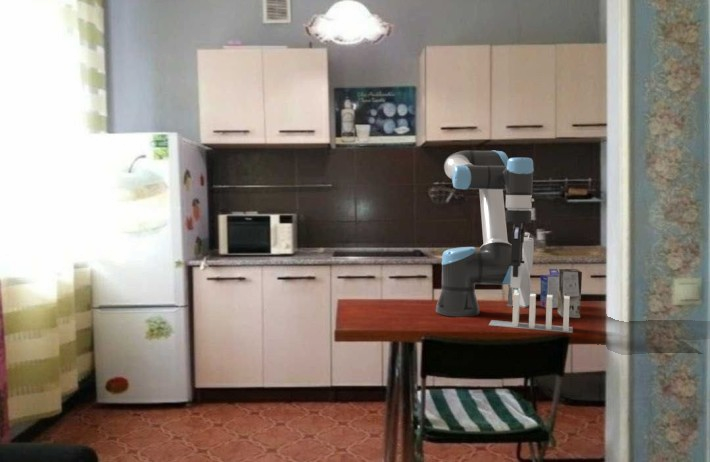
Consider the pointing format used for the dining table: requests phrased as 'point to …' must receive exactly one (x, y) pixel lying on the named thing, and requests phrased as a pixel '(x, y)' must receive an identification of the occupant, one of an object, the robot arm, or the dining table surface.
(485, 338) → the dining table surface
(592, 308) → the dining table surface
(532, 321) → the domino
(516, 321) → the domino
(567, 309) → the domino
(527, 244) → the skyscraper
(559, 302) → the coffee box
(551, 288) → the ink cartridge box
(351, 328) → the dining table surface
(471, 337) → the dining table surface
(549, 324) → the domino
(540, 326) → the gray flat rectangular plate
